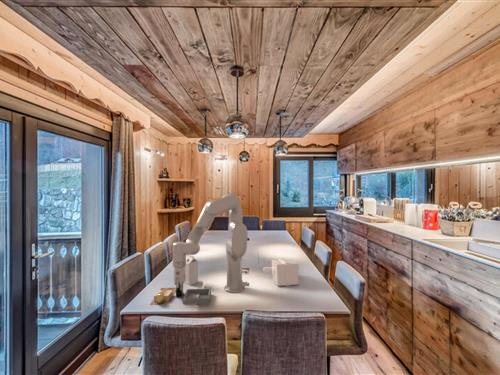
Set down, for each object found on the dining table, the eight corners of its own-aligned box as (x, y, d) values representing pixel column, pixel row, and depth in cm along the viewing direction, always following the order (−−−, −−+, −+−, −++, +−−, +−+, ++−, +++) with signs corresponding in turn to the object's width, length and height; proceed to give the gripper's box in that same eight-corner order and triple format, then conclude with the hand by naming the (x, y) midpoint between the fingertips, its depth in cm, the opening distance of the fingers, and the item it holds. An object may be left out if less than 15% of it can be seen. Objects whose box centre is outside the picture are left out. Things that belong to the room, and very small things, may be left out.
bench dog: (164, 301, 143) (164, 292, 143) (162, 304, 139) (162, 295, 139) (157, 301, 143) (157, 292, 143) (155, 304, 139) (155, 295, 139)
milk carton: (191, 281, 176) (191, 253, 175) (197, 283, 171) (197, 255, 171) (182, 284, 170) (182, 255, 170) (189, 287, 166) (188, 257, 165)
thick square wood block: (172, 295, 151) (172, 290, 151) (168, 301, 143) (168, 295, 143) (159, 295, 151) (159, 289, 151) (153, 301, 143) (153, 295, 143)
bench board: (177, 289, 162) (177, 287, 162) (168, 306, 139) (168, 304, 139) (161, 289, 162) (161, 288, 161) (149, 307, 139) (149, 305, 139)
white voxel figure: (293, 273, 195) (307, 285, 167) (260, 276, 191) (269, 287, 163) (292, 254, 196) (306, 262, 168) (260, 255, 192) (269, 264, 164)
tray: (211, 294, 155) (211, 288, 155) (209, 305, 141) (209, 298, 141) (187, 295, 154) (187, 289, 154) (182, 306, 140) (182, 299, 140)
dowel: (183, 295, 153) (183, 283, 153) (182, 298, 149) (182, 286, 149) (176, 295, 153) (176, 283, 153) (175, 298, 149) (175, 286, 149)
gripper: (183, 267, 143) (183, 301, 143) (188, 259, 159) (188, 288, 160) (169, 268, 142) (169, 301, 142) (175, 259, 159) (176, 289, 159)
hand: (179, 294), depth 151 cm, fingers closed on dowel, 4 cm apart
